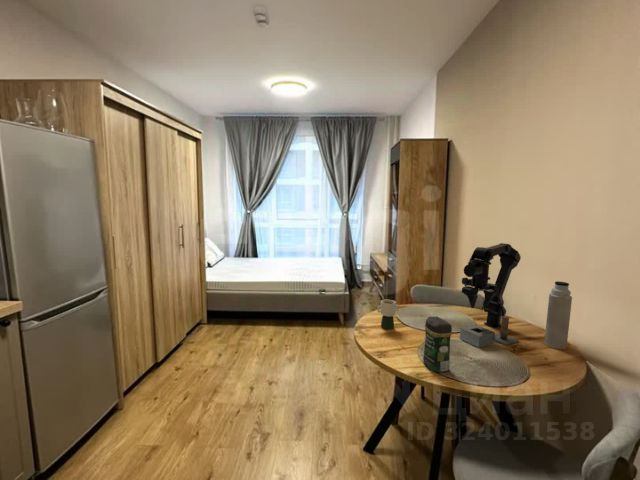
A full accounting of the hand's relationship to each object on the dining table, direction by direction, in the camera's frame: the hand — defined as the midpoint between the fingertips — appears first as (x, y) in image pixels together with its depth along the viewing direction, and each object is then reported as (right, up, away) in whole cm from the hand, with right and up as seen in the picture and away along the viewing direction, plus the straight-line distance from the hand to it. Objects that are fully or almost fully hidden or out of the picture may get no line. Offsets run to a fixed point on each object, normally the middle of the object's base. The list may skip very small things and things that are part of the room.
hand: (479, 306), depth 159 cm
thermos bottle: (+27, -14, -13) cm, 33 cm away
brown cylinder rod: (+7, -13, -9) cm, 17 cm away
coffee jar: (-32, -16, -34) cm, 49 cm away
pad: (+7, -13, -8) cm, 17 cm away
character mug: (-43, -11, +4) cm, 44 cm away
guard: (-6, -13, -10) cm, 18 cm away
